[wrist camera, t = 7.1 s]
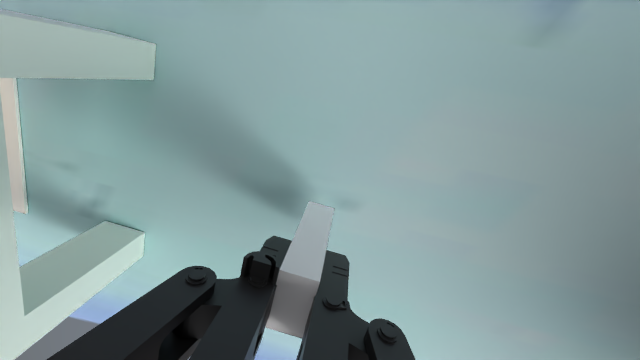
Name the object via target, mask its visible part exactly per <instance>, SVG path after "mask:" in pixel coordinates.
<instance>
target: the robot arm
mask: <svg viewBox="0 0 640 360" xmlns="http://www.w3.org/2000/svg"><path fill="white" fill-rule="evenodd" d="M334 209H335V208H332V207H328V206H325V205H321V204H318V203H314V202H311V201H309V202H308V205H307V207H306V209H305V212H304V214H303V216H302V219H301V221H300V223H299V226H298V228H297V230H296V233H295V235H294V237H293V240H292V241H291V240H287V239H284V238H280V237H277V236H272V237H271V238H269V239H267V240H266V242H265V243H264V245H263V247H262V248H261V250H260V251H257V252H251V253H249V254H247V255H246V256H245V257H244V259H243V265H242V270H241V275H240V277H239V278H236V279H216V275H215V272H214V271H212V270H211V269H210V268H207V267H204V266H192V267H187V268H185V269H183V270H181V271H180V272H178V273H177V274H175V275H174V276H172V277H171V278H169V279H168V280H166V281H164V282H163V283H161V284H160V285H158V286H157V287H155V288H154V289H152V290H151V291H149V292H148V293H146V294H145V295H143V296H142V297H140V298H139V299H137V300H136V301H134V302H133V303H131V304H130V305H128V306H127V307H125V308H124V309H122V310H121V311H119V312H118V313H116V314H115V315H113V316H112V317H110V318H109V319H107V320H106V321H104V322H103V323H101V324H100V325H98V326H97V327H95V328H93V329H92V330H91V331H89V332H87V333H86V334H84V335H83V336H82V337H80V338H78V339H77V340H75V341H74V342H72V343H71V344H69V345H68V346H66V347H65V348H64V349H62V350H60V351H59V352H57V353H56V354H54V355H53V356H51V357H50V358H48V359H47V360H187V359H188V358H189V357H190V356H191V357H190V359H189V360H254V358H255V356H256V353H257V350H258V348H259V345H260V343H261V340H262V336H263V332H264V328H265V326H266V328H269V329H273V330H276V331H279V332H282V333H286V334H289V335H292V336H296V337H299V338H302V343H301V346H300V349H299V353H298V356H297V359H296V360H415V358H414V355H413V353H412V351H411V348H410V346H409V344H408V342H407V339H406V337H405V335H404V334H403V332H402V330H401V329H400V328H399V327H398V326H396V325H395V324H394V323H392V322H390V321H388V320H385V319H374V320H373V321H371V322H370V324H369V323H368V322H366V321H364V320H362V319H361V318H359V317H358V316H357V315H355V314H354V313H353V312H352V310H351V309H350V305H349V302H348V301H347V297H348V279H349V278H348V277H349V261H348V260H347V258H346V256H345V255H342V254H338V253H335V252H331V251H328V250H326V249H327V244H328V239H329V234H330V229H331V224H332V219H333V214H334Z"/></svg>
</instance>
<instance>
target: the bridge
mask: <svg viewBox="0 0 640 360" xmlns="http://www.w3.org/2000/svg"><path fill="white" fill-rule="evenodd" d="M155 53H156V44H154V43H151V42H147V41H143V40H139V39H136V38H132V37H128V36H125V35H121V34H117V33H113V32H110V31H106V30H101V29H96V28H91V27H86V26H82V25H77V24H72V23H67V22H62V21H57V20H52V19H48V18H43V17H38V16H33V15H28V14H23V13H19V12H14V11H9V10H4V9H0V78H42V79H113V80H154V70H155ZM144 240H145V232H141V231H138V230H135V229H131V228H128V227H124V226H121V225H118V224H114V223H111V222H108V221H104V222H102V223H100V224H98V225H96V226H95V227H93V228H91V229H89V230H87V231H85V232H84V233H82V234H80V235H78V236H76V237H74V238H72V239H71V240H69V241H67V242H65V243H63V244H61V245H60V246H58V247H56V248H54V249H52V250H50V251H48V252H47V253H45V254H43V255H41V256H39V257H37V258H36V259H34V260H32V261H30V262H28V263H26V264H24V265H23V266H21V267H19V260H18V251H17V241H16V232H15V223H14V214H13V204H12V195H11V186H10V177H9V167H8V158H7V149H6V140H5V130H4V121H3V112H2V102H1V93H0V360H14V359H16V358H17V357H18V356H19V355H20V354H22V353H23V352H24V351H26V350H27V349H28V348H29V347H31V346H32V345H33V344H34V343H36V342H37V341H38V340H39V339H41V338H42V337H43V336H44V335H46V334H47V333H48V332H49V331H51V330H52V329H53V328H54V327H56V326H57V325H58V324H59V323H61V322H62V321H63V320H64V319H66V318H67V317H68V316H69V315H71V314H72V313H73V312H74V311H76V310H77V309H78V308H79V307H81V306H82V305H83V304H84V303H86V302H87V301H88V300H89V299H91V298H92V297H93V296H94V295H96V294H97V293H98V292H99V291H101V290H102V289H103V288H104V287H106V286H107V285H108V284H109V283H111V282H112V281H113V280H114V279H116V278H117V277H118V276H119V275H121V274H122V273H123V272H124V271H126V270H127V269H128V268H129V267H131V266H132V265H133V264H134V263H136V262H137V261H138V260H139V259H141V258H142V257H143V256H144Z"/></svg>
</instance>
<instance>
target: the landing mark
mask: <svg viewBox="0 0 640 360" xmlns="http://www.w3.org/2000/svg"><path fill="white" fill-rule="evenodd" d="M0 93H1V102H2V112H3V121H4V130H5V140H6V149H7V158H8V167H9V177H10V186H11V195H12V204H13V211H17V212H20V213H24V214H27V213H28V204H27V192H26V181H25V170H24V159H23V147H22V136H21V125H20V114H19V103H18V91H17V80H16V78H0Z"/></svg>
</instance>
